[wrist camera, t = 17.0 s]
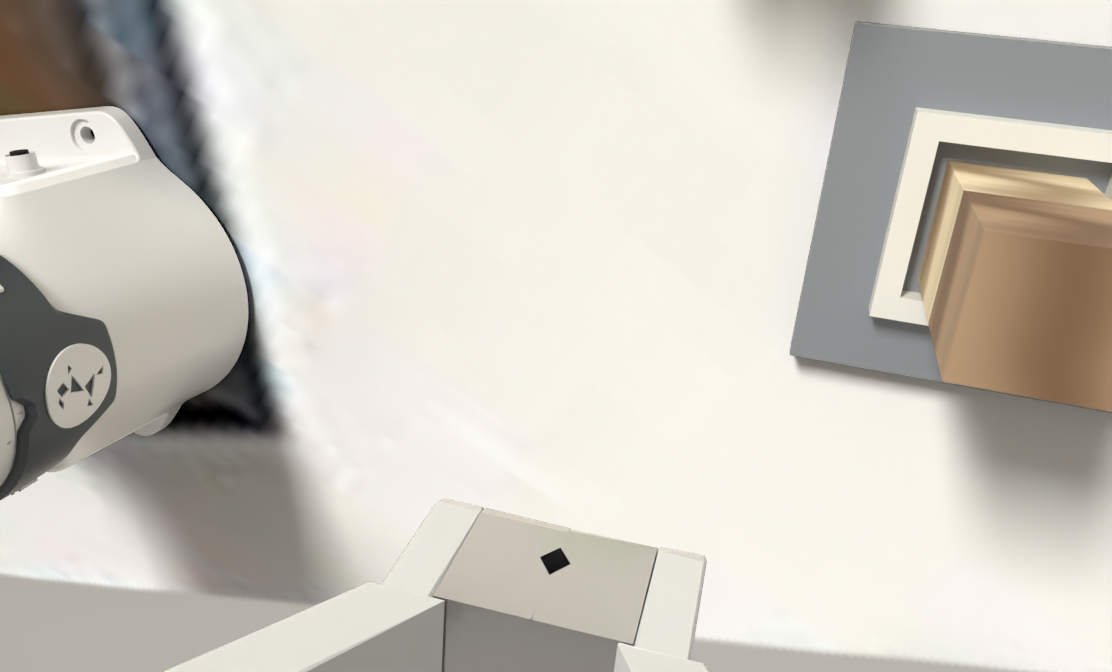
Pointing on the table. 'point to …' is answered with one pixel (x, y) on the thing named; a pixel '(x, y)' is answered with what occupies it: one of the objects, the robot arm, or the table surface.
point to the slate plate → (933, 171)
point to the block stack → (1021, 284)
